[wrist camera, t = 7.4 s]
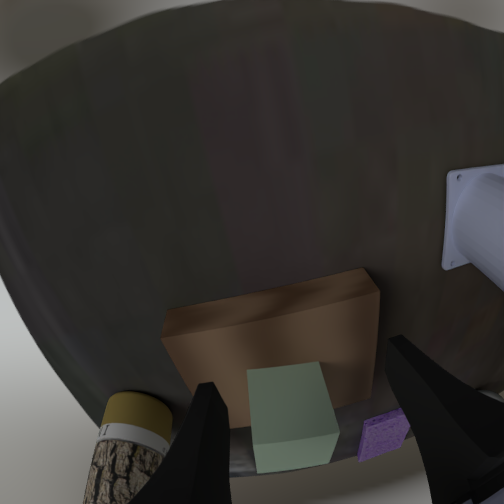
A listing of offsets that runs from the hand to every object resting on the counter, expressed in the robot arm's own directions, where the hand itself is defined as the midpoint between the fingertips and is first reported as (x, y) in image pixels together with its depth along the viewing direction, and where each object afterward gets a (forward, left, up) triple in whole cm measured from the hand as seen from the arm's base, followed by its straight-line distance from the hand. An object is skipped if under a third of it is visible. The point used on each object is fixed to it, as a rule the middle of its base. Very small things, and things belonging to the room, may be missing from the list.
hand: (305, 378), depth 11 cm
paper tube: (+16, +13, -10) cm, 23 cm away
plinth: (+1, +8, -9) cm, 12 cm away
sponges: (-10, +30, -10) cm, 33 cm away
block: (+1, +9, -6) cm, 11 cm away
